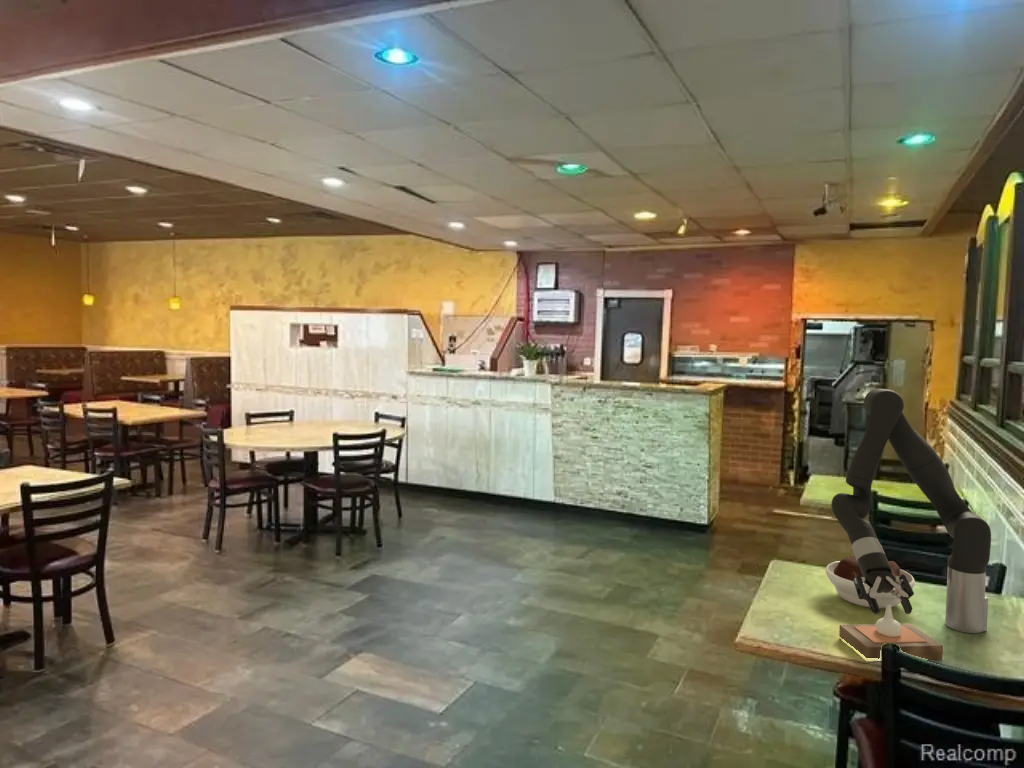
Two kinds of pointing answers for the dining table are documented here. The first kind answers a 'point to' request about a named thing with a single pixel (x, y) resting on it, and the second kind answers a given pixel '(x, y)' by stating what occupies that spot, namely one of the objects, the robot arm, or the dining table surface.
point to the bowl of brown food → (849, 569)
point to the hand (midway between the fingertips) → (893, 613)
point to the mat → (876, 637)
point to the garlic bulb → (888, 624)
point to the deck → (872, 650)
